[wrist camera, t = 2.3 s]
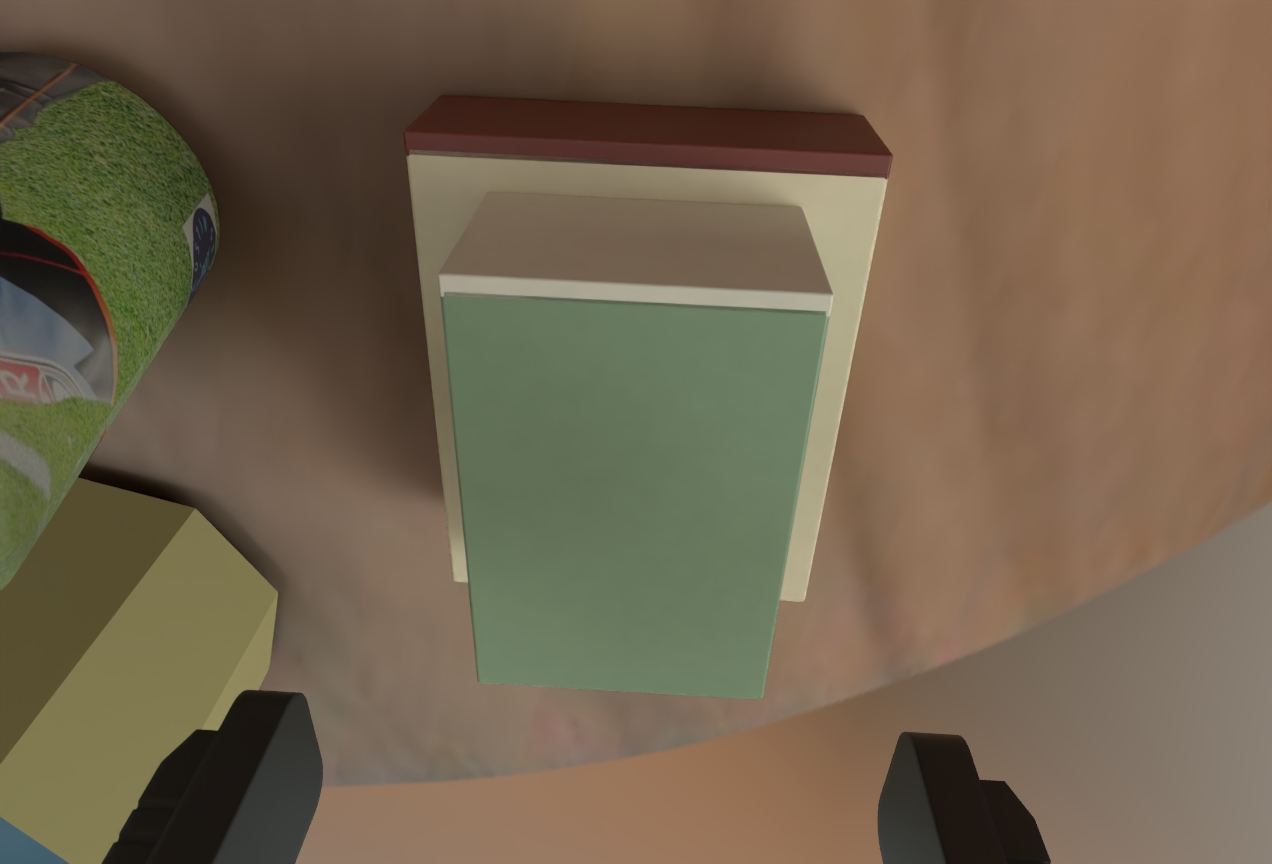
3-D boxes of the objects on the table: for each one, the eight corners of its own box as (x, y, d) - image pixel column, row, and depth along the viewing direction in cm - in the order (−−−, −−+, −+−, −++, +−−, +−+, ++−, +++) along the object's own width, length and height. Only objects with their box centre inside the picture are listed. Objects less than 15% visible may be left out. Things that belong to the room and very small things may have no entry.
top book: (487, 191, 16) (436, 273, 13) (802, 206, 16) (834, 293, 13) (508, 556, 21) (476, 684, 18) (750, 570, 21) (763, 701, 18)
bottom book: (440, 94, 18) (401, 130, 16) (864, 114, 18) (894, 154, 16) (475, 509, 24) (452, 583, 22) (792, 527, 24) (805, 603, 22)
